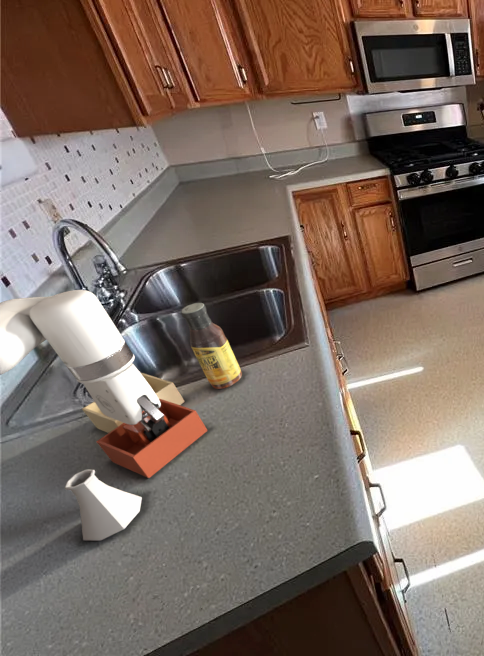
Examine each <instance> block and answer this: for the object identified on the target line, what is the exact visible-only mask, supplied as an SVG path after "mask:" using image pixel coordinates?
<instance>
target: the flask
mask: <svg viewBox="0 0 484 656" xmlns="http://www.w3.org/2000/svg"><path fill="white" fill-rule="evenodd" d="M95 474H96V471H95V469H84V470H82V471H79V472H77V473H75V474H73V475H72V476H71V477H70V478H69V479H68V480H67V481H66V482H65V486H64V489H65V490H66V491H71V493H72V494H73V495H74V496H75V498H76V501H77V503H78V507H79V513H80V520H81V530H82V531H81V532H82V540H83V541H103V540H105V539H107V538H109V537H111V536H113V535H115V534H117V533H119V532H121V531H123V530H125V529H126V528H127V526H128V525H129V524H131V522H132V521H133V520H134V518H135V517H136V516H137V515H138V514H139V513H140V511H141V506H142V500H143V497H142V496H139V495H137V494H133V493H130V492H127V491H124V490H121V489H118V488H116V487H113V486H110V485H108V484H106V483H104V482H103V481H101V480H99V478H98V477H97V476H96V475H95Z"/></svg>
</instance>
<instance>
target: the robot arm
mask: <svg viewBox="0 0 484 656" xmlns="http://www.w3.org/2000/svg"><path fill="white" fill-rule="evenodd" d="M45 341H46V342H47V343H48V344H49V345H50V347H51V348H52V349H53V351H54V352H55V353H56V355H57V356H58V357H59V358H60V360H61V361H62V362H63V364H64V365H65V367H66V368H67V369H68V371H69V372H70V374H71V375H72V376H73V378H75V380H76V381H77V382H78V383H79V384H83V386H84V387H85V389H86V391H87V392H88V394H89V395H90V397H91V398H92V400H93V402H95V403H96V405H97V406H98V408H99V409H100V411H101V412H102V413H103V414H104V415H106V416H108V417H110V418H113V419H115V420H118V421H120V422H123V423H126V424H129V425H135V424H137V423H138V422H139V424H140V425H141V426H142V427H143V428H144V430H145V431H144V432H143V433H144V434H145V435H146V437H147V438H148V440H149V441H150V442H152V441H154V440H155V439H156V438H158V437H159V436H160V435H162V434H163V433H164V432H166V431H167V430H168V429H170V428H169V426H168V425H167V423H166V422H165V420H164V415H163V414H162V413H161V412H160V411H159V410H158V409H157V408H160V406H161V403H160V401H159V399H158V397H157V395H156V394H155V392H154V391H153V389H152V388H151V386H150V385H149V384H148V382H147V381H146V380H145V378H144V377H143V376H142V374H141V373H142V372H141V371H139V369H138V368H137V367H136V366H135V364H134V363H133V362H134V361H135V357H136V356H135V354H134V353H133V351H132V350H131V348H130V347H129V345H128V343H127V342H126V340H125V339H124V337H123V336H122V333H120V331H119V329H118V328H117V326H116V325H115V322H114V321H113V320H112V318H111V317H110V315H109V314H108V312H107V311H106V310H105V308H104V306H103V305H102V303H101V301H100V300H99V298H98V297H97V295H96V294H94V293H93V292H92V291H89V290H85V289H73V290H67V291H64V292H59V293H57V294H53V295H50V296H49V295H48V296H35V297H33V296H32V297H19V298H12V299H7V300H3V301H2V302H0V376H1V375H4V374H5V373H7V372H10V371H11V370H12V369H14V368H15V367H16V366H17V365H18V364H20V363H21V362H22V361H23V360H24V359H25V358H26V357H27V356H28V355H29V354H30V353H31V352H32V351H33V350H34V349H35V348H36V347H38V346H40V345H41V344H42V343H44V342H45ZM142 411H144V412H143V414H142ZM147 416H150V420H148V422H147V423H146V421H145V420H144V418H146V417H147Z"/></svg>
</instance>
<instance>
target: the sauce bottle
mask: <svg viewBox="0 0 484 656" xmlns="http://www.w3.org/2000/svg"><path fill="white" fill-rule="evenodd" d="M180 313H181V316H182V318H183V319H185V322H186V323H187V325H188V328H189V342H190V343H189V344H190V348H191V350H192V352H193V354H194V356H195V358H196V360H197V362H198V364H199V366H200V368H201V370H202V371H203V374H204V375H205V377H206V379H207V382H208V383H209V384H210V386H211V387H212V388H214V389H215V390H221V389H227V388H230V387H231V386H233V385H235V384H237V382H239V381H240V380H241V378H242V375H243V372H242V370H241V367H240V365H239V362H238V360H237V358H236V356H235V353H234V351H233V350H232V346H231V345H230V342H229V340H228V338H227V337H226V335H225V333H224V330H223V329H222V328H221V326H219V325H217V324H215V323H213V321H212V319H211V318H210V315H209V314H208V312H207V306H206V305H205V304H204V303H202V302H195V303H192V304H189V305H186V306H184V307H183V308H182V309H181V310H180Z"/></svg>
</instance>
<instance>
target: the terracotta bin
mask: <svg viewBox="0 0 484 656" xmlns="http://www.w3.org/2000/svg"><path fill="white" fill-rule="evenodd" d="M159 401H160V403H161V406H160V408H157V409H158V410H159V411H160V412H161V413H162V414H164V415H165V416H166V418H167V419H168V421H169V422H170V424H171V426H172V427H171V428H170V429H168V430H167V431H166V432H164V433H163V434H162V435H160V436H159V437H158V438H156V439H155V440H154V441H152V442H151V443H150V444H148V445H147V446H146V447H141V446H139V445H136V444H135V443H134V442H133V441H132V439H131V438H130V437H129V435H128V434H127V432H126V431H125V430H124V428H123V426H125V425H126V423H123V424H121V425H120V426H118V427H117V428H115V429H114V430H112V431H111V432H109V433H107V434H104V435H103V436H102V437H101V438H99V439H97V440H96V442H95V443H96V444H97V445H98V446H99V447H100V449H101V450H102V451H103V452H104V453H105V455H106V456H107V457H108V458H109V460H110V461H111V462H112V463H114V464H116V465H118V466H120V467H122V468H125V469H127V470H130V471H132V472H134V473H136V474H138V475H141V476H143V477H145V478H147V479H150V478H151V477H153V476H154V475H155V474H156V473H158V472H159V471H160V470H161V469H162V468H164V467H165V466H166V465H167V464H168V463H170V462H171V461H172V460H174V458H176V457H177V456H178V455H180V454H181V453H182V452H183V451H185V450H186V449H187V448H188V447H190V446H191V445H192V444H194V442H196V441H197V440H198V439H199V438H200V437H202V436H203V435H204V434H205V433H207V432H208V429H207V427H206V425H205V424H204V422H203V421H202V419H201V417H200V415H199V414H198V412H197V410H196V409H192V408H190V407H186V406H183V405H182V404H181V405H178V404H175V403H172V402H169V401H166V400H163V399H159ZM143 412H144V411H142V413H143Z"/></svg>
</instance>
